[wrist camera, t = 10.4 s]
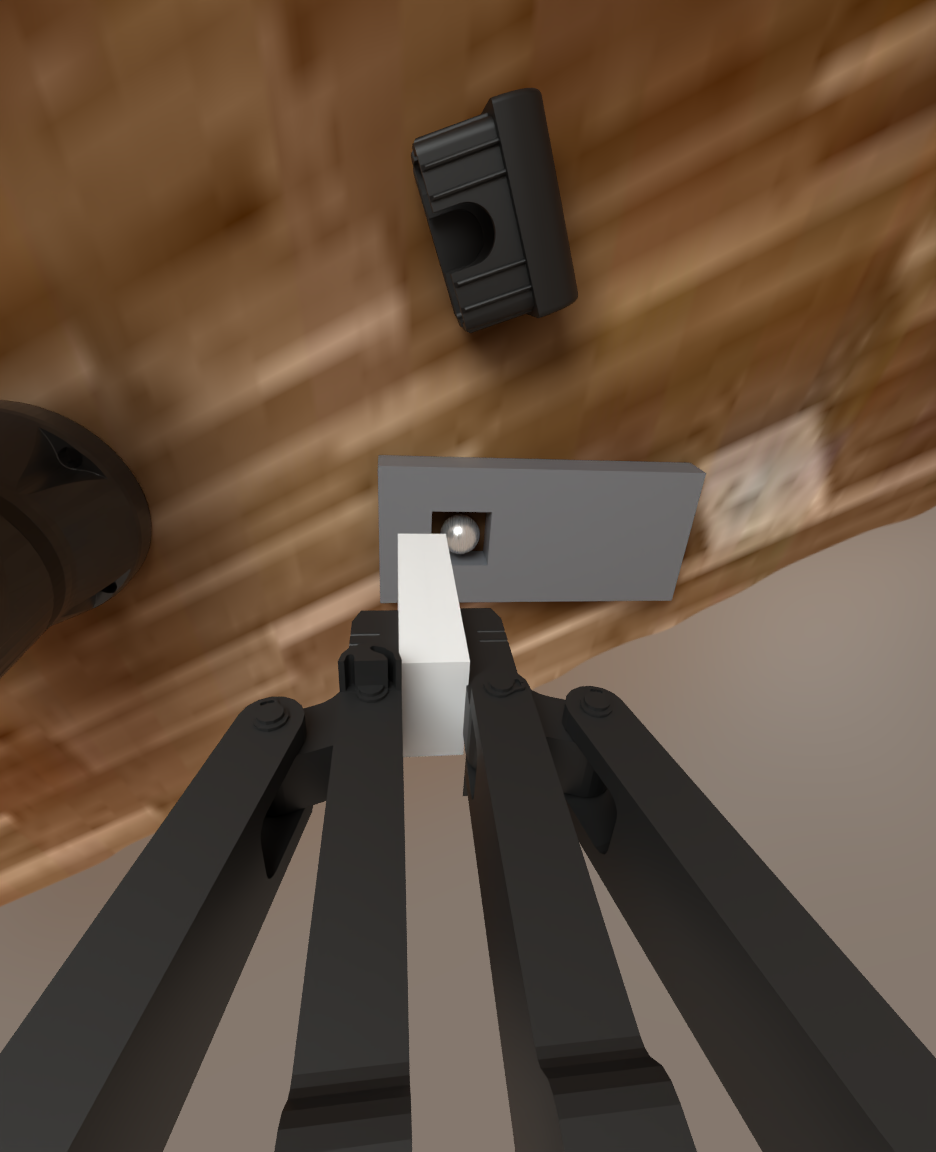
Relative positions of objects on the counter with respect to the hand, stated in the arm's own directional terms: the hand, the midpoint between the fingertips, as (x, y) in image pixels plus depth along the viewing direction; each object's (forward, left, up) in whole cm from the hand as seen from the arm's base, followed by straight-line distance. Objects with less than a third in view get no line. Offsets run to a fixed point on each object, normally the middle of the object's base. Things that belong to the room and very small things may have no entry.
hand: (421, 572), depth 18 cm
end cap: (+5, +11, -25) cm, 28 cm away
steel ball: (+4, -9, -23) cm, 25 cm away
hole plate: (+10, -9, -24) cm, 28 cm away
